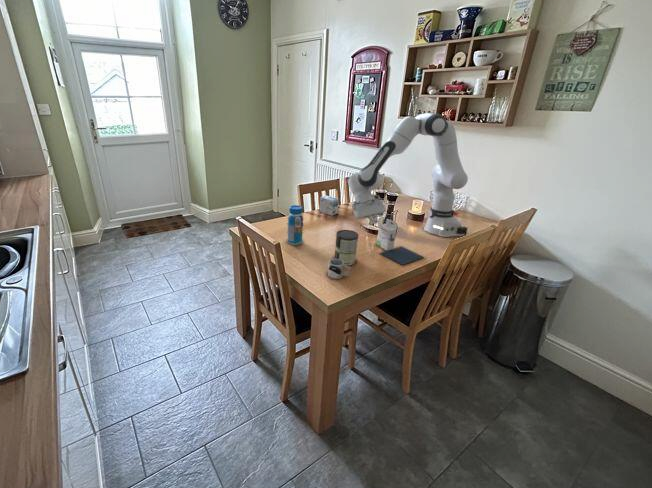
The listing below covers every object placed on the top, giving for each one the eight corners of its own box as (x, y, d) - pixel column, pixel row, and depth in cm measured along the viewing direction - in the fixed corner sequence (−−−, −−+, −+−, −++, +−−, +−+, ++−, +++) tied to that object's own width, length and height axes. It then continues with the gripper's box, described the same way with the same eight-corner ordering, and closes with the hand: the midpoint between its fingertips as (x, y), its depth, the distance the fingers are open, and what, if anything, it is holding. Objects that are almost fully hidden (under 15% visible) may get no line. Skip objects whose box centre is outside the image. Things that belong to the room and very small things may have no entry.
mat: (380, 253, 167) (380, 253, 167) (401, 247, 175) (401, 246, 175) (402, 265, 156) (402, 264, 156) (423, 257, 164) (423, 257, 164)
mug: (326, 277, 145) (327, 264, 142) (329, 270, 150) (331, 257, 148) (348, 281, 141) (350, 268, 139) (351, 274, 147) (353, 261, 144)
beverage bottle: (284, 243, 175) (285, 208, 167) (290, 237, 183) (291, 203, 174) (299, 246, 173) (301, 210, 165) (304, 240, 180) (306, 205, 172)
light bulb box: (337, 213, 221) (339, 198, 216) (331, 216, 216) (333, 200, 212) (325, 209, 227) (326, 194, 223) (319, 212, 223) (320, 196, 219)
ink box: (375, 244, 177) (379, 219, 171) (382, 243, 179) (386, 217, 173) (386, 251, 170) (390, 224, 164) (393, 249, 172) (398, 223, 166)
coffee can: (329, 259, 160) (332, 233, 154) (342, 253, 166) (345, 227, 161) (347, 267, 153) (350, 240, 147) (359, 260, 160) (362, 234, 154)
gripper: (354, 200, 173) (365, 223, 169) (381, 195, 183) (392, 217, 179) (347, 206, 178) (358, 229, 174) (374, 200, 188) (385, 222, 184)
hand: (375, 223), depth 177 cm, fingers closed
